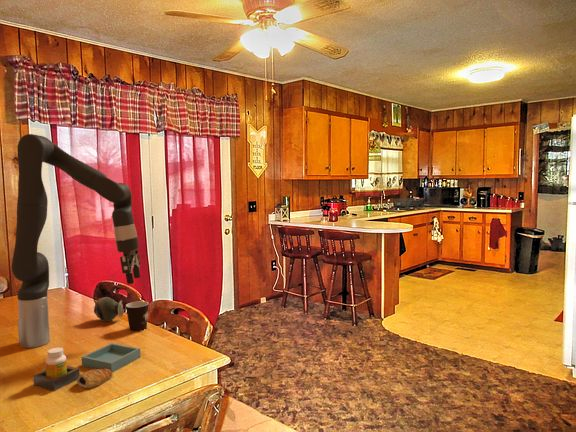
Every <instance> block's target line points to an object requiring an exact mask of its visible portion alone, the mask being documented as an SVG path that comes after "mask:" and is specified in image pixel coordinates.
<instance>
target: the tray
mask: <svg viewBox="0 0 576 432" xmlns="http://www.w3.org/2000/svg"><path fill="white" fill-rule="evenodd" d="M141 357H142V356H141V348H139V347H133V346H129V345H124V344H123V345H122V344H119V343H114V342H110V343H109V344H107V345H105V346H102V347H101V348H98V349H96V350H93V351H91V352H89V353H86V354H85V355H83V356H81V357H80V358H81V366H82V367H84V368H89V369H92V370H95V369H110V371H112V373H115V372H116V371H118V370H119V369H122V368H123V367H125V366H127V365H129V364H130V363H133V362H135V361H137V360H138V359H140V358H141Z"/></svg>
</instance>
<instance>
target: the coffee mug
mask: <svg viewBox="0 0 576 432" xmlns="http://www.w3.org/2000/svg"><path fill="white" fill-rule="evenodd" d="M149 304H150V303H149V302H148V301H142V300H140V301H131V302H129V303H127V304H125V309H126V314H127V321H128V328H129V331H130V330H131V332H133V331H138V332H141V331H140V330H143V331H145V330H146V329H147V327H148V318H149V317H148V316H149V307H150V306H149ZM144 329H145V330H144Z"/></svg>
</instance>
